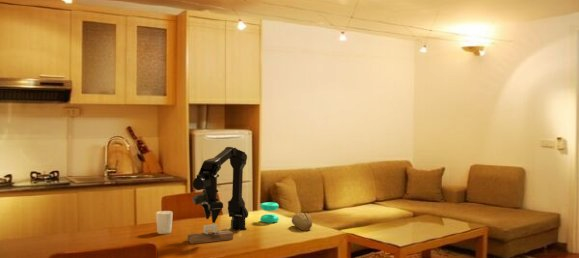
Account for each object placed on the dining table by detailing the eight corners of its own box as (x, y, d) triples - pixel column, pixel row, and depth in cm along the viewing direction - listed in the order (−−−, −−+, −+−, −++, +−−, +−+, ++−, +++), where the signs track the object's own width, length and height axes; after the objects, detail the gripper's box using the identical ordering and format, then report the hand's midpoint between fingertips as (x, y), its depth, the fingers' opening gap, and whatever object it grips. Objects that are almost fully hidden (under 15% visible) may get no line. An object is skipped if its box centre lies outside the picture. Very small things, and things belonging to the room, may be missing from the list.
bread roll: (304, 224, 272) (304, 209, 272) (316, 230, 258) (316, 215, 258) (287, 225, 269) (288, 210, 268) (299, 232, 255) (299, 216, 255)
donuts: (279, 204, 274) (261, 205, 273) (279, 223, 274) (260, 223, 273) (277, 201, 284) (260, 201, 283) (277, 219, 284) (259, 219, 283)
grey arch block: (203, 238, 236) (203, 225, 236) (215, 236, 239) (215, 224, 239) (205, 239, 234) (205, 226, 234) (217, 237, 237) (217, 225, 237)
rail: (187, 240, 235) (187, 234, 235) (228, 236, 244) (228, 230, 244) (191, 243, 229) (191, 237, 229) (233, 239, 238) (233, 232, 238)
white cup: (168, 234, 246) (168, 214, 246) (153, 233, 248) (153, 213, 247) (175, 231, 254) (175, 211, 253) (160, 230, 255) (160, 210, 255)
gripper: (188, 185, 240) (188, 218, 241) (199, 191, 224) (199, 226, 224) (210, 184, 245) (210, 216, 246) (223, 189, 229) (223, 224, 229)
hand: (210, 220), depth 236 cm, fingers open, 9 cm apart
